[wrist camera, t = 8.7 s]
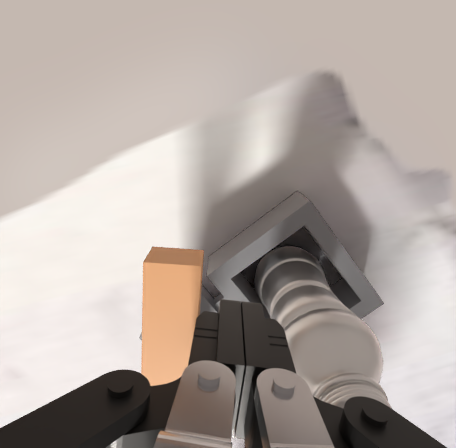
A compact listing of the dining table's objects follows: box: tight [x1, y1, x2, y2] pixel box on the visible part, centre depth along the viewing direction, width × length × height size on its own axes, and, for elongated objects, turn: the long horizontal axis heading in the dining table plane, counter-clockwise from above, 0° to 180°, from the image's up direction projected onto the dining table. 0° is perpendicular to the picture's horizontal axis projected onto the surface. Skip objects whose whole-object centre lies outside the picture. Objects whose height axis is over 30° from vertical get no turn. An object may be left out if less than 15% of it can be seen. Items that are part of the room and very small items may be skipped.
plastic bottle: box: [254, 246, 392, 409], centre depth 26 cm, size 6×7×20 cm
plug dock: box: [139, 191, 384, 340], centre depth 26 cm, size 12×22×21 cm, turn 128°
